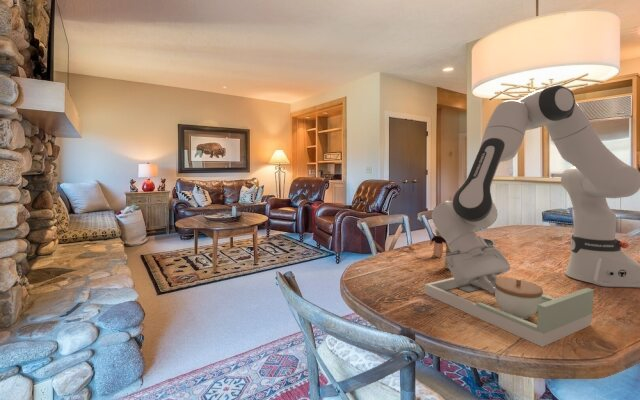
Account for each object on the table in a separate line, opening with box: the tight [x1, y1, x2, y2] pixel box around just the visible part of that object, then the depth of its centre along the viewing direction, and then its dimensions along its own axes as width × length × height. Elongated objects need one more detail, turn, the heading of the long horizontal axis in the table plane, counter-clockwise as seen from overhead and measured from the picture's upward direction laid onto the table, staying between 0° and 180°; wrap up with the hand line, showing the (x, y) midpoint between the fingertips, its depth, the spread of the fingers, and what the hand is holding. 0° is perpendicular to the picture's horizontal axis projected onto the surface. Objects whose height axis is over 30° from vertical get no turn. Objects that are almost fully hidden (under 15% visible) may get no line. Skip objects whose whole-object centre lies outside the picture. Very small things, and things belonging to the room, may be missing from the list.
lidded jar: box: [494, 277, 544, 320], centre depth 87 cm, size 11×11×9 cm
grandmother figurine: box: [429, 228, 446, 259], centre depth 141 cm, size 8×4×13 cm, turn 68°
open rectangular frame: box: [476, 287, 595, 334], centre depth 83 cm, size 16×21×6 cm
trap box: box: [423, 276, 593, 348], centre depth 91 cm, size 34×20×3 cm, turn 28°
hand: (496, 291), depth 92 cm, fingers closed, pressing on lidded jar
